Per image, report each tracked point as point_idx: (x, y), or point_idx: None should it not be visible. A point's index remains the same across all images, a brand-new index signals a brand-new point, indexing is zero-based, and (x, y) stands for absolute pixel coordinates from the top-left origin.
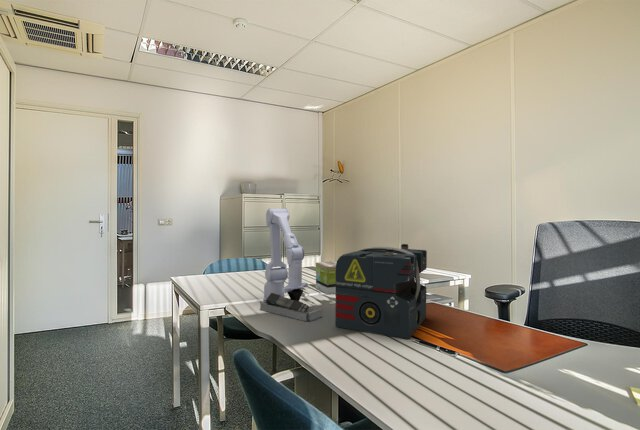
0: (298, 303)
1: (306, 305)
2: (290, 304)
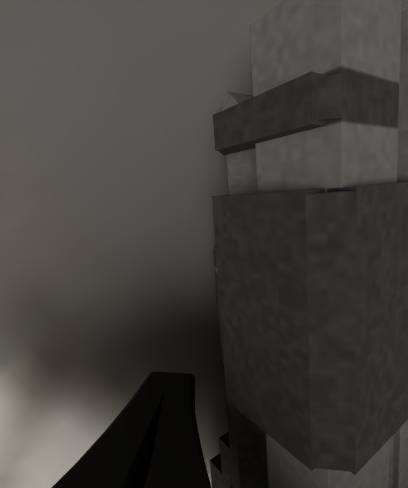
0: (384, 288)
1: (358, 16)
2: (404, 424)
